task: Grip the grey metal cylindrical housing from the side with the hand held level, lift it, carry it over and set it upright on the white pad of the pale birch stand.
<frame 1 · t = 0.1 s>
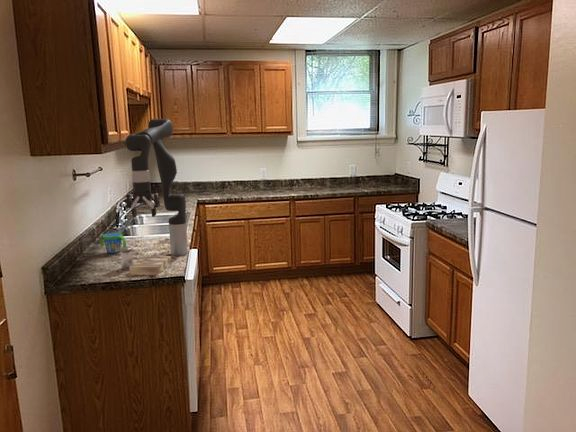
hand: (144, 216, 205), 29 cm above the counter, tool pointing down, fingers open, 8 cm apart
stand: (151, 269, 227), on the counter
snack cup: (114, 252, 261), on the counter
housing: (127, 267, 230), on the counter
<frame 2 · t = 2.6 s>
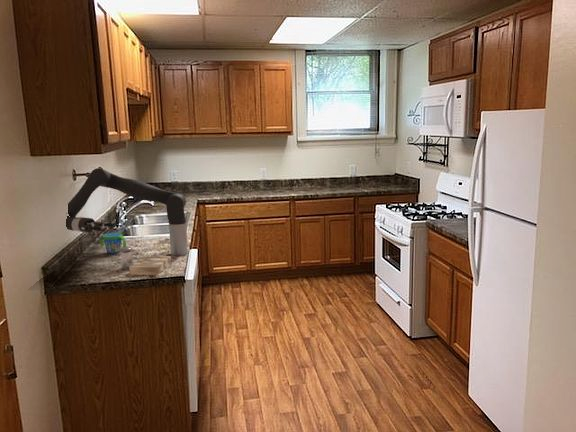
hand: (107, 227, 230), 20 cm above the counter, tool horizontal, fingers open, 8 cm apart
nothing on the counter moved.
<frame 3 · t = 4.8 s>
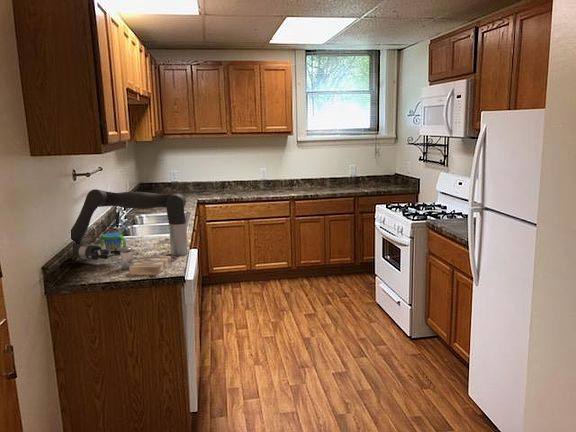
hand: (113, 254, 232), 6 cm above the counter, tool horizontal, fingers open, 8 cm apart
nothing on the counter moved.
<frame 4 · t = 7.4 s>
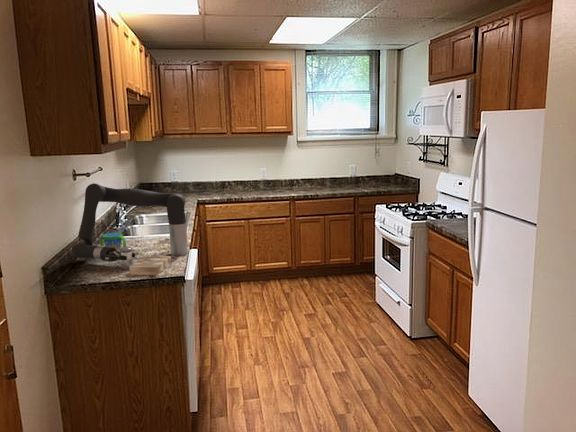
hand: (130, 256, 228), 6 cm above the counter, tool horizontal, fingers closed on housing, 5 cm apart
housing: (127, 267, 230), on the counter, touching gripper
everything else where it was.
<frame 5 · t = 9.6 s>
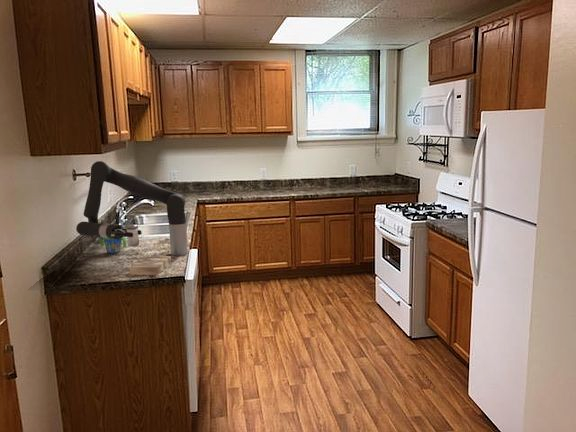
hand: (136, 233, 224), 18 cm above the counter, tool horizontal, fingers closed on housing, 5 cm apart
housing: (133, 245, 227), point 12 cm above the counter, touching gripper
everything else where it was.
when the fingers open (12 cm above the counter, at t = 12.1 s): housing drops 1 cm, resting on stand.
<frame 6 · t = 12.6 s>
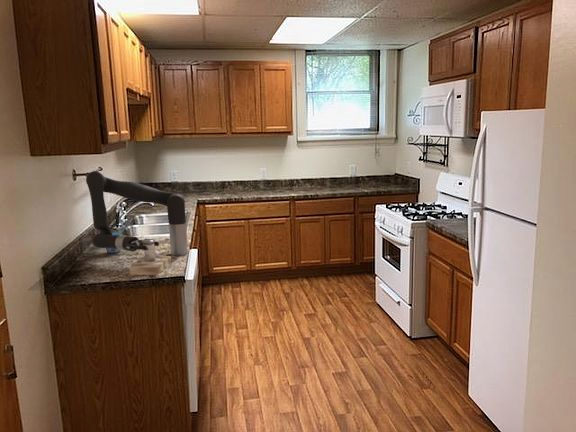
hand: (152, 245, 224), 12 cm above the counter, tool horizontal, fingers open, 8 cm apart
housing: (150, 260, 226), point 4 cm above the counter, touching stand
everything else where it was.
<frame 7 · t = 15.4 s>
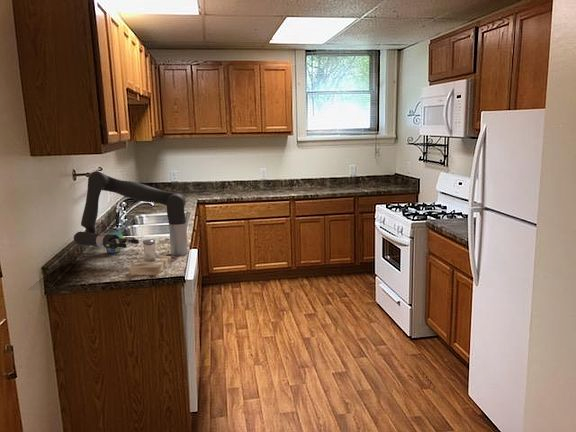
hand: (132, 243, 229), 12 cm above the counter, tool horizontal, fingers open, 8 cm apart
nothing on the counter moved.
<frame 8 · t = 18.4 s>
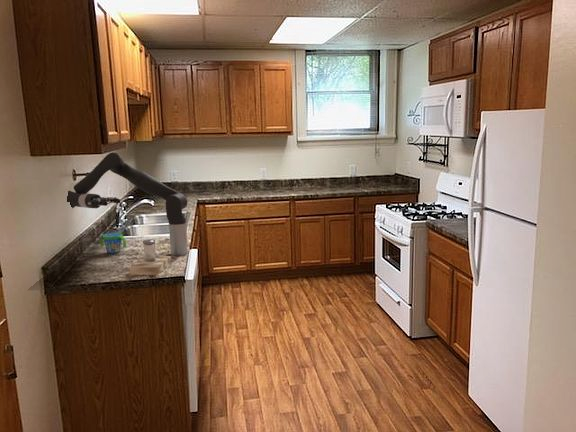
hand: (113, 202, 233), 32 cm above the counter, tool horizontal, fingers open, 8 cm apart
nothing on the counter moved.
at the end: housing 0.1 cm off-centre on the stand, point 4.4 cm above the stand's base; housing tilted 0°; the gripper is holding nothing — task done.
